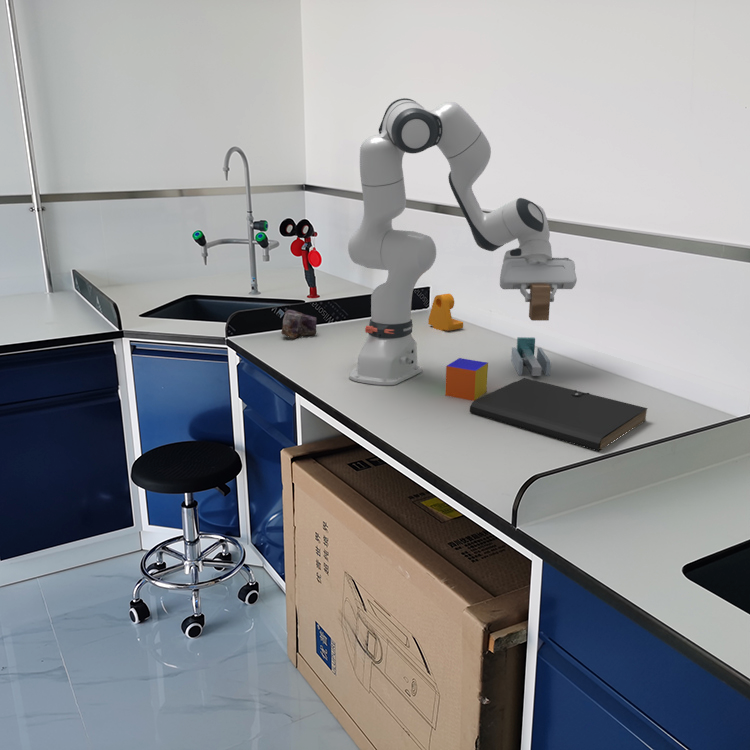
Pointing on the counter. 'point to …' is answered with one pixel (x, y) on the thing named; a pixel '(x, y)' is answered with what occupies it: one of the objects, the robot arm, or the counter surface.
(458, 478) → the counter surface
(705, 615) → the counter surface
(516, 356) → the channel
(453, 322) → the bracket
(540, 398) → the black book
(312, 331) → the rock
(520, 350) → the teal headed mallet
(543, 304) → the walnut block
